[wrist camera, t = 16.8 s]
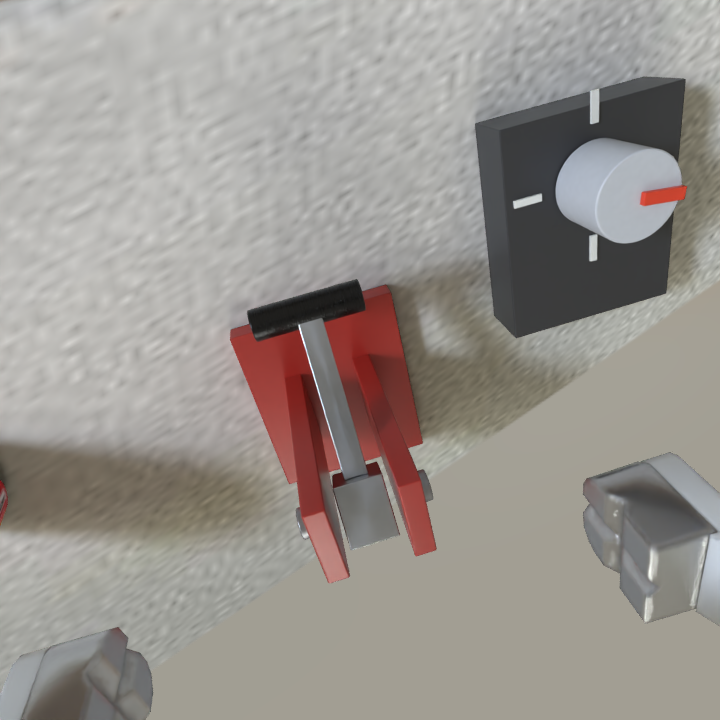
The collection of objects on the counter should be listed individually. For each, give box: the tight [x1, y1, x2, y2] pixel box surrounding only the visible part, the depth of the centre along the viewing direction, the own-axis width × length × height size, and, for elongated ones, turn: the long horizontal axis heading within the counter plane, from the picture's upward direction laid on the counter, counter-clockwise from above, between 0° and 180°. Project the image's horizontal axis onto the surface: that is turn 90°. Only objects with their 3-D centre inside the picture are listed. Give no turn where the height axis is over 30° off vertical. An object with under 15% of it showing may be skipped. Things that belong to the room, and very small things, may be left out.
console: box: [475, 77, 685, 338], centre depth 28 cm, size 12×9×3 cm
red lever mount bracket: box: [230, 285, 436, 583], centre depth 27 cm, size 11×9×12 cm
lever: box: [247, 279, 400, 550], centre depth 24 cm, size 11×5×2 cm, turn 13°
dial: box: [556, 138, 687, 243], centre depth 24 cm, size 4×4×4 cm
